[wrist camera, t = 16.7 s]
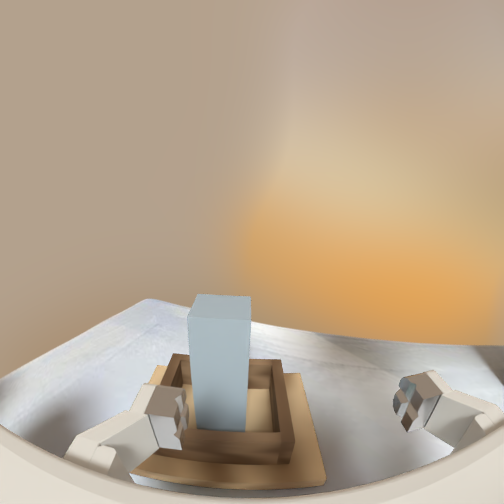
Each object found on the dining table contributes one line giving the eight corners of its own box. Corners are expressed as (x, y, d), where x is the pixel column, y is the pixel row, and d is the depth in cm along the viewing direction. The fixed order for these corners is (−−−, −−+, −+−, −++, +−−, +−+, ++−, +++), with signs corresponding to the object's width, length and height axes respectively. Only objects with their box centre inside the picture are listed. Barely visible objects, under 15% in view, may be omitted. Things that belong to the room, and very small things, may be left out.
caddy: (298, 381, 36) (303, 349, 34) (323, 485, 18) (337, 456, 17) (158, 373, 35) (154, 341, 34) (116, 469, 18) (99, 437, 16)
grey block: (245, 404, 29) (250, 296, 26) (245, 434, 24) (251, 320, 21) (203, 401, 29) (197, 293, 26) (197, 431, 24) (187, 316, 21)
